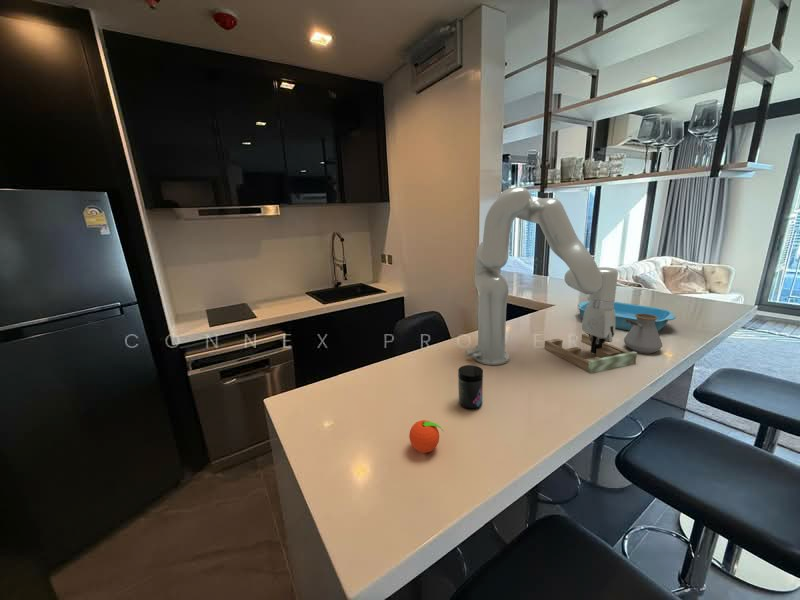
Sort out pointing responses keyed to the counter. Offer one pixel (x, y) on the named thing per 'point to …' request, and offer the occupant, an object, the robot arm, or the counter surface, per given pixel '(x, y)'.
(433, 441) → the clementine
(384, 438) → the counter surface
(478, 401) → the supplement container
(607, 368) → the trap box
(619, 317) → the casserole dish
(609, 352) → the walnut block
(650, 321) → the coffee pot
